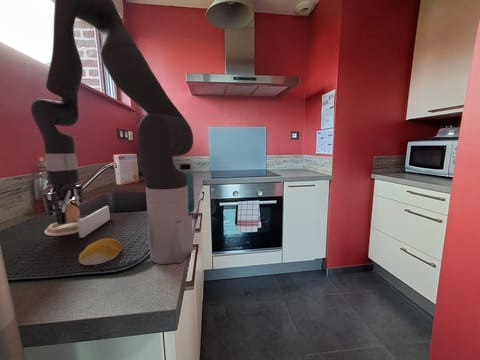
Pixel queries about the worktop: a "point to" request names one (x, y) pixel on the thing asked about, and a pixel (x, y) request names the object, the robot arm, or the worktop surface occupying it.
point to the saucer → (62, 228)
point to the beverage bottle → (189, 186)
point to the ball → (71, 213)
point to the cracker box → (126, 169)
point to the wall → (93, 221)
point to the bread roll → (100, 251)
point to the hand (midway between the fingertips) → (68, 220)
